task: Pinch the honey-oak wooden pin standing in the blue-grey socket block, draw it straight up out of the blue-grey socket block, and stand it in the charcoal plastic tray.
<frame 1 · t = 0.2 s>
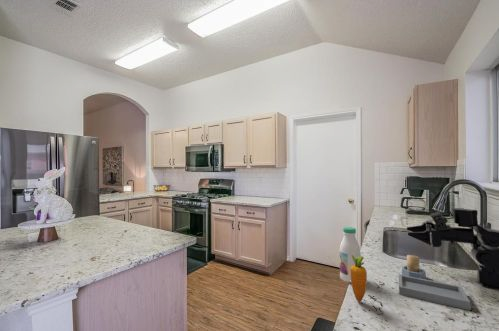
hand: (407, 231, 98), 17 cm above the worktop, tool horizontal, fingers open, 9 cm apart
carrot: (359, 302, 74), on the worktop
blue-grey socket block: (413, 276, 91), on the worktop
milk bottle: (350, 279, 90), on the worktop
wooden pin: (413, 266, 92), in the blue-grey socket block
tray: (430, 293, 78), on the worktop
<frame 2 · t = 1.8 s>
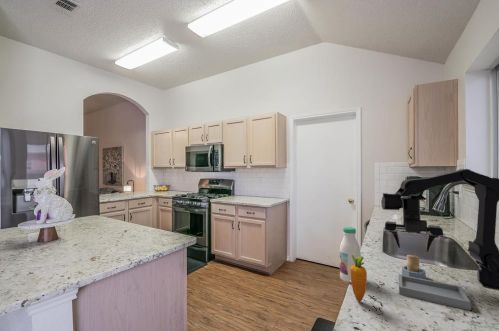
hand: (412, 249, 92), 11 cm above the worktop, tool pointing down, fingers open, 9 cm apart
nothing on the worktop moved.
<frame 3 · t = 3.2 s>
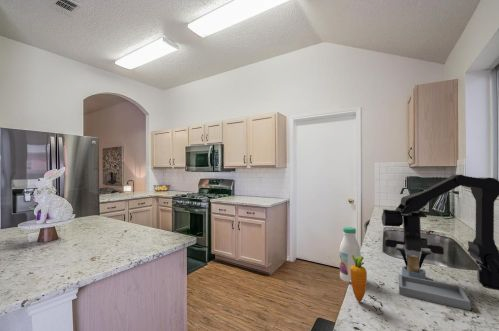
hand: (413, 266, 92), 4 cm above the worktop, tool pointing down, fingers closed on wooden pin, 4 cm apart
wooden pin: (413, 266, 92), in the blue-grey socket block, touching gripper
everything else where it was.
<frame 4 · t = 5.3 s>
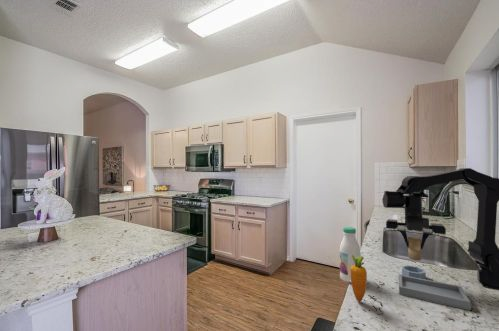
hand: (414, 248, 90), 12 cm above the worktop, tool pointing down, fingers closed on wooden pin, 4 cm apart
wooden pin: (414, 248, 90), point 12 cm above the worktop, touching gripper
everything else where it was.
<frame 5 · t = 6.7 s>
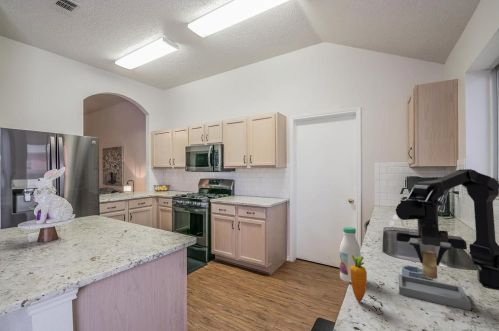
hand: (429, 264, 79), 10 cm above the worktop, tool pointing down, fingers closed on wooden pin, 4 cm apart
wooden pin: (429, 264, 79), point 10 cm above the worktop, touching gripper
everything else where it was.
when the fingers open (6 cm above the worktop, at t = 7.8 s): wooden pin stays where it is, resting on tray.
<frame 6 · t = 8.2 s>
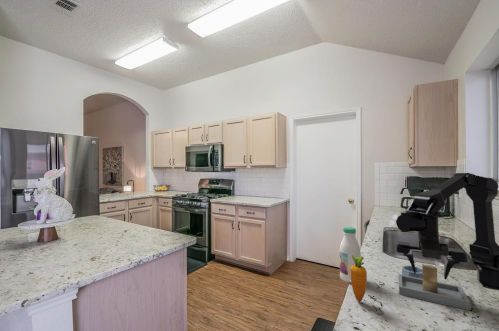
hand: (429, 276, 79), 6 cm above the worktop, tool pointing down, fingers open, 8 cm apart
wooden pin: (429, 279, 79), in the tray, point 5 cm above the worktop
everything else where it was.
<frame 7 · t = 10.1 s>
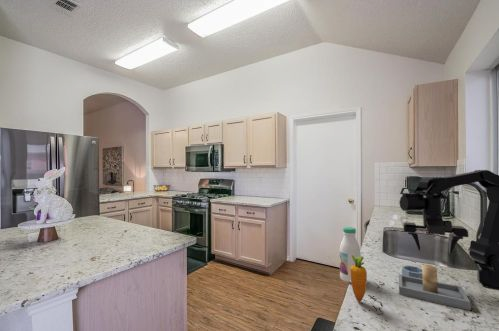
hand: (434, 252, 86), 12 cm above the worktop, tool pointing down, fingers open, 9 cm apart
nothing on the worktop moved.
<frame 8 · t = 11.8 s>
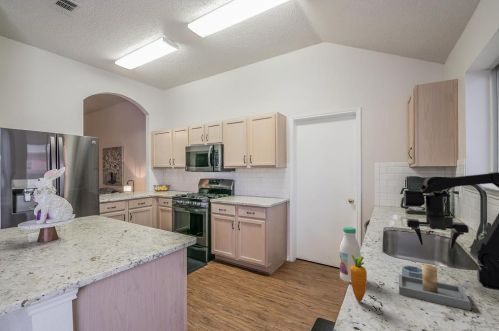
hand: (436, 246, 91), 12 cm above the worktop, tool pointing down, fingers open, 9 cm apart
nothing on the worktop moved.
at the end: wooden pin inside the target area on the tray (0.0 cm from its centre), point 5.0 cm above the tray's base; wooden pin tilted 0°; the gripper is holding nothing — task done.
